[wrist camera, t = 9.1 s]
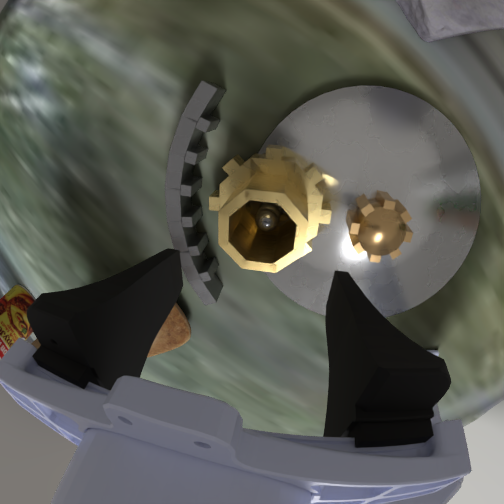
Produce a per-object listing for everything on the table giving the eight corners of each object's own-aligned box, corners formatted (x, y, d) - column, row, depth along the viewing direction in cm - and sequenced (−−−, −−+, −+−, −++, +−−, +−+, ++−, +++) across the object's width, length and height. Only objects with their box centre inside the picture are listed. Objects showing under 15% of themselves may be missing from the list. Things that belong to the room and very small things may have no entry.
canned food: (50, 323, 37) (10, 372, 27) (28, 319, 39) (-8, 361, 28) (28, 284, 33) (-19, 332, 23) (8, 283, 35) (-33, 324, 25)
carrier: (433, 322, 24) (444, 350, 21) (185, 293, 27) (170, 320, 24) (496, 127, 14) (525, 135, 11) (178, 71, 17) (152, 67, 14)
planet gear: (319, 259, 22) (322, 301, 18) (215, 245, 23) (193, 283, 19) (337, 153, 18) (349, 170, 13) (216, 141, 19) (188, 154, 14)
